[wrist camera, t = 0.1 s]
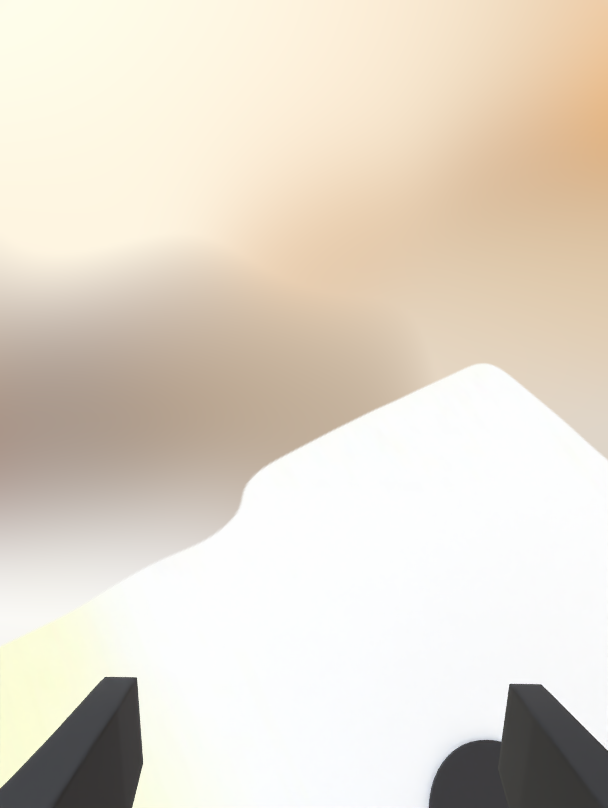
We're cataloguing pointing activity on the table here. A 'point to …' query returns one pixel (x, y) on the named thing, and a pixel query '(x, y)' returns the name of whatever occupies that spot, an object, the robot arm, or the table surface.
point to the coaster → (470, 778)
